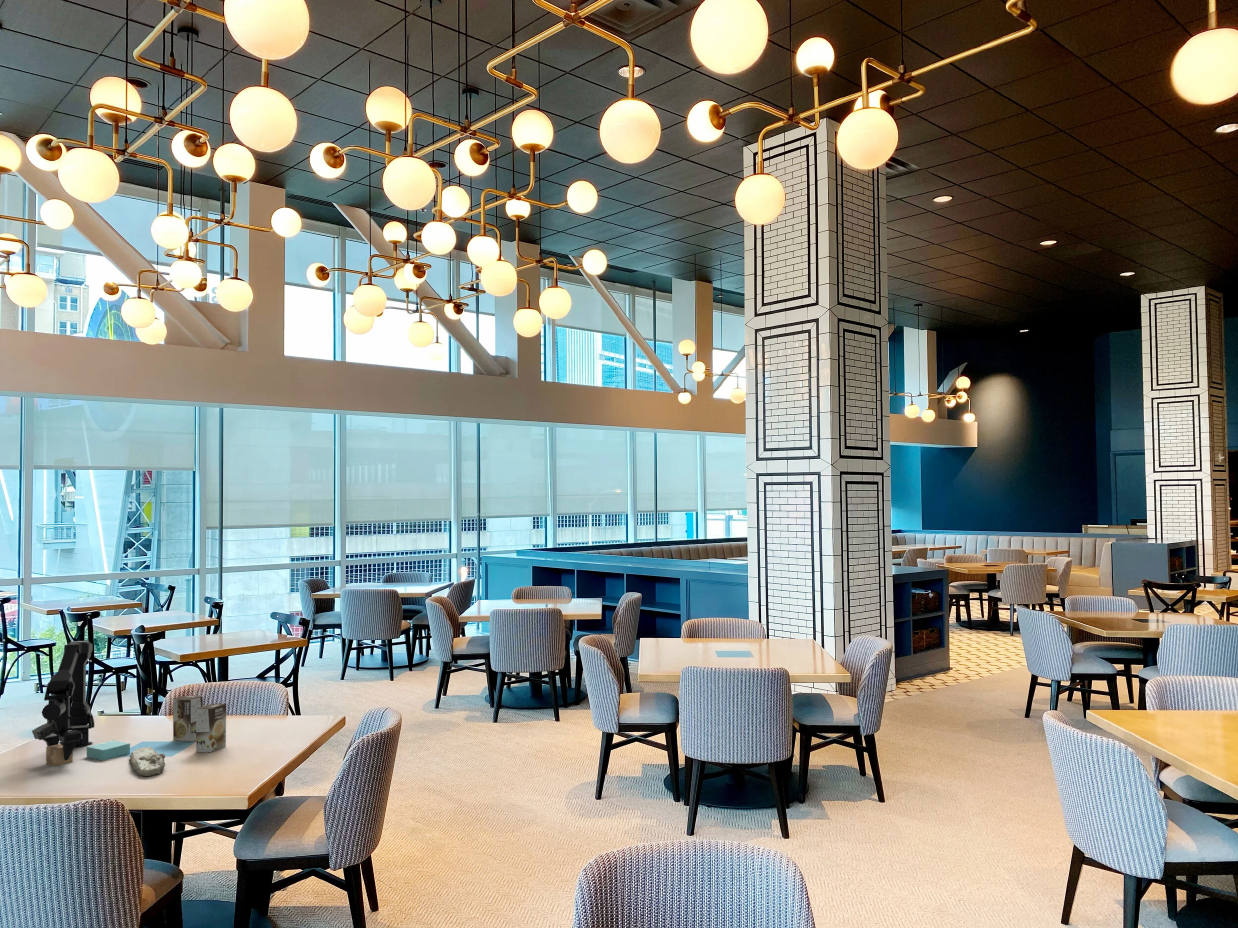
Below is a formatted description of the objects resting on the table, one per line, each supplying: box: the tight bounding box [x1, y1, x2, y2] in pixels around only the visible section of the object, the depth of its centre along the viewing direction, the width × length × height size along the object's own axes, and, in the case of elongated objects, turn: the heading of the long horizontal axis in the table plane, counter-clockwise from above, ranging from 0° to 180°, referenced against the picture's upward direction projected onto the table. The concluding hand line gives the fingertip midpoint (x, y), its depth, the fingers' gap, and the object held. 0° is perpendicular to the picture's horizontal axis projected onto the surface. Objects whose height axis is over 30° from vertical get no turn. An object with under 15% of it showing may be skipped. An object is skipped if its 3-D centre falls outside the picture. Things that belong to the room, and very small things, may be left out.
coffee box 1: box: [172, 695, 204, 742], centre depth 348 cm, size 9×6×16 cm
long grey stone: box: [129, 746, 166, 777], centre depth 312 cm, size 35×5×10 cm
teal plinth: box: [86, 739, 131, 761], centre depth 326 cm, size 10×10×4 cm
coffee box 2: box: [195, 702, 227, 753], centre depth 332 cm, size 9×6×16 cm
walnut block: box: [45, 743, 74, 767], centre depth 317 cm, size 6×6×6 cm
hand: (59, 758), depth 317 cm, fingers open, 9 cm apart
